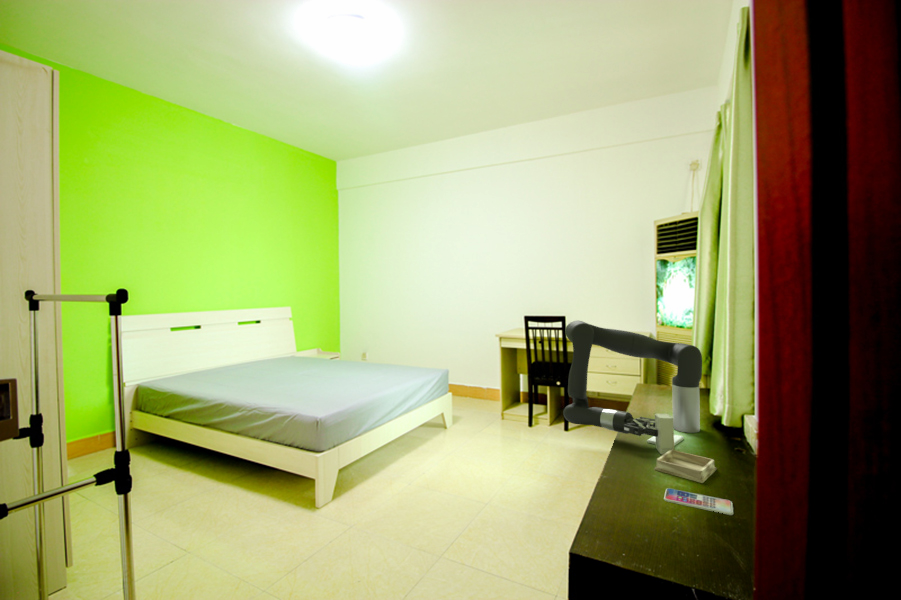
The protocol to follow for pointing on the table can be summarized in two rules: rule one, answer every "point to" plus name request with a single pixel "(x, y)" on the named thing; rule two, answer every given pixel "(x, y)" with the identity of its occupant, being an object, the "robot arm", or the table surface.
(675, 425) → the robot arm
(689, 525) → the table surface
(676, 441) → the external hard drive
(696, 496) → the smartphone
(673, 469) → the wooden tray
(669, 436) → the skincare box
